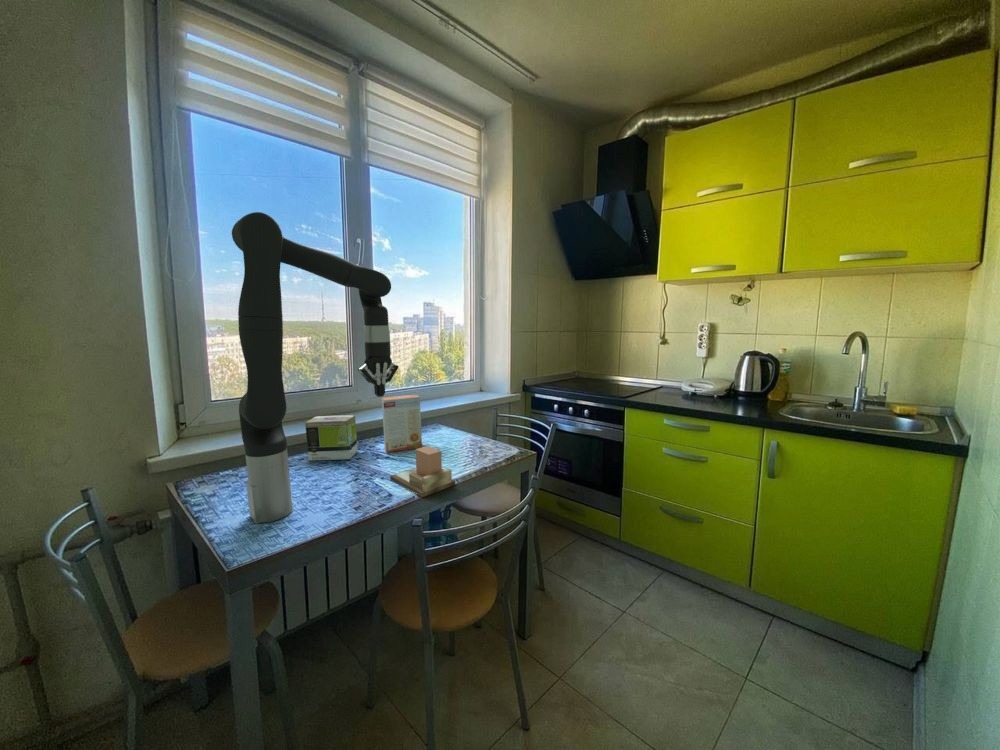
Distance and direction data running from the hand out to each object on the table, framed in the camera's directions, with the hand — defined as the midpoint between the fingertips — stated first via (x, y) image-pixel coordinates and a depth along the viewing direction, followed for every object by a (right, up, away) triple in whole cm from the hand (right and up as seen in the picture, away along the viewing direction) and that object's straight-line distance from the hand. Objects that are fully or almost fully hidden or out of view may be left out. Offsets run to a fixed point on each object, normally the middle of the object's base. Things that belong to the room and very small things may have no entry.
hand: (380, 396), depth 120 cm
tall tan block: (+16, -26, -2) cm, 30 cm away
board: (+13, -27, +1) cm, 30 cm away
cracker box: (-1, -23, +33) cm, 40 cm away
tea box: (-25, -24, +25) cm, 43 cm away
